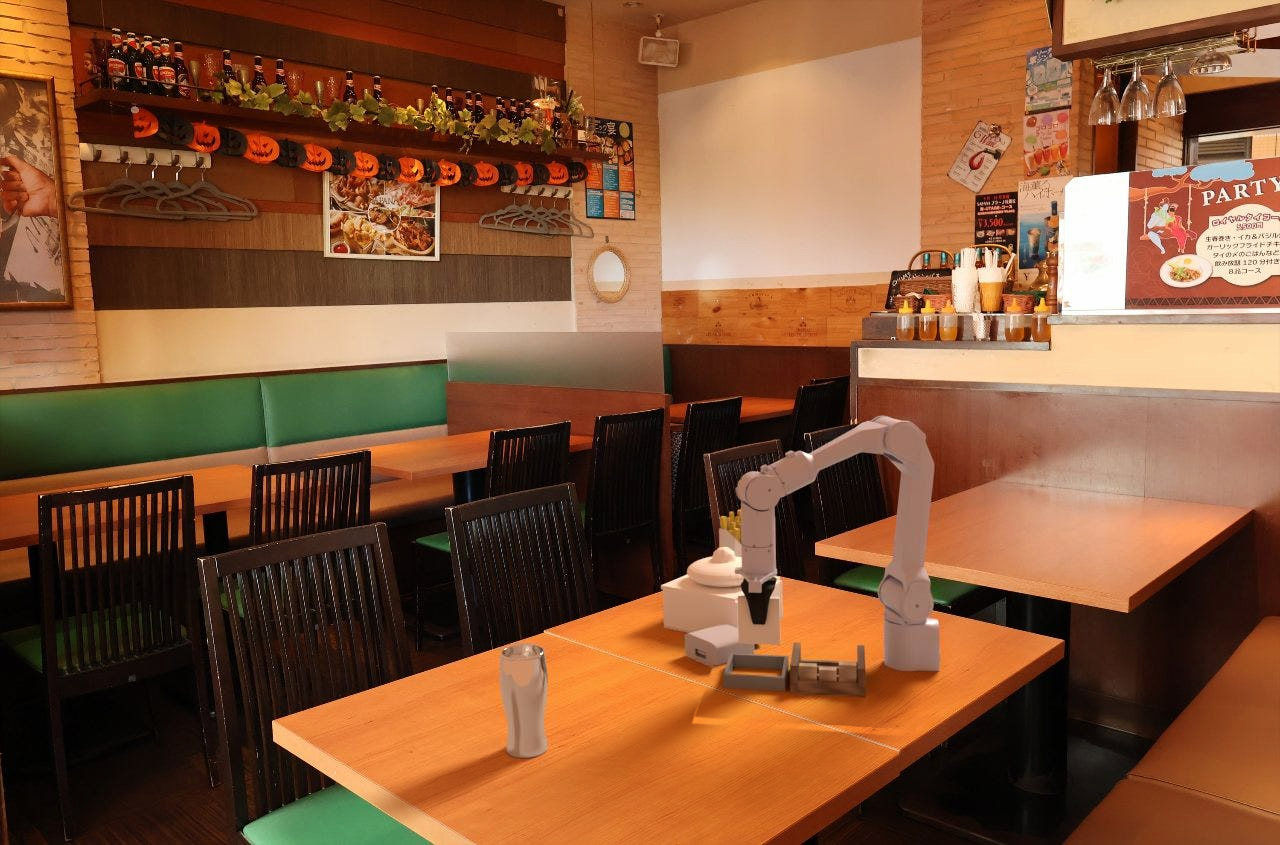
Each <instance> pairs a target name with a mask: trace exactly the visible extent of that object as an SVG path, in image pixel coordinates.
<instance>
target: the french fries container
mask: <svg viewBox="0 0 1280 845" xmlns="http://www.w3.org/2000/svg"><path fill="white" fill-rule="evenodd" d="M728 515H729V516H728V517H727V516H726V515H725V516H724V515H722V516H720V517H719V522H720V524H719V525H720V527H719V528H718V537H719V538H718V539H719V542H718V543H719V544H718V545H719V547H718V548H720V547H728V548H730V549H731V550H732V551H734V553H735V556H736V557H741V508H740V509H738V510H737V515H736V516H735V512H734V511H729V513H728ZM741 558H742V557H741Z"/></svg>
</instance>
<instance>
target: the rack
mask: <svg viewBox="0 0 1280 845" xmlns="http://www.w3.org/2000/svg"><path fill="white" fill-rule="evenodd" d="M865 649H866V648H865V645H863V644H862V645H860V644H858V645H856V650H857V654H856V656H857V660H856V661H855V662H856V666H857V682H839V662H850V661H847V660H844V661H843V660H827V659H826V660H824V659H823V660H822V659H818V660H817V659H802V643H801V642H793V645H792V651H791V658H790V662H789V678H790V679H789V683H790V684H789V688H790V689H789V690H790V694H792V695H793V694H794V695H797V694H798V695H813V696H833V697H834V696H836V697H853V698H854V697H855V698H866V695H867V694H866V692H867V691H866V689H867V688H866V687H867V686H866V683H867V681H866V680H867V679H866V677H867V676H866V675H867V674H866V655H865V654H866V652H865ZM799 663H817V680H799ZM819 667H837V681H819Z"/></svg>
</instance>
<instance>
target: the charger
mask: <svg viewBox="0 0 1280 845" xmlns="http://www.w3.org/2000/svg"><path fill="white" fill-rule="evenodd" d="M684 653H685V655H686V657H688V658H690V659H692V660H694V661H696V662H699V663H701V664H703V665H705V666H708V667H710V668H712V669H713V668H714V667H715V666H720V665H724V664H727V661H728V658H729V655H730V653H736V654H755V644H739V636H738V628H736V627H733V626H730V625H728V624H721V625H717V626H713V627H710V628H706V629H703V630H699V631H695V632H692V633H686V634H684Z"/></svg>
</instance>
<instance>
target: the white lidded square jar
mask: <svg viewBox="0 0 1280 845" xmlns="http://www.w3.org/2000/svg"><path fill="white" fill-rule="evenodd" d="M736 567H742V558H741V557H736V556H735V553H734V551H732V550H731V549H730V548H728V547H720V548H719V547H718V548H717V549H715V551H713V554H712V556H708V557H705V558H704V557H703V558H701V559H698V560H696V561H694V562H693V563H691V564H690V565H689V566H688V567H687V570H686V574H685V575H683V576H680V577H678V578H676V579H673V580H671V581H669V582H666V583H664V584H661V585H660V590H662V607H663V608H662V609H663V610H662V612H663V613H662V614H663V628H664V629H668V628H669V630H672V629H673V630H674V631H677V630H678V632H682V631H683V632H682V633H686V634H688V633H692V632H695V631H699V630H703V629H706V628H710V627H713V626H717V625H721V624H728V625H730V626H733V627H736V628H738V596H745V595H744V593H743V591H742V589H741V583H742V582H743V579H744V577H743V576H742V575H741V574H735V568H736ZM774 577H776V578H777V581H776V584H775V588H774V591H773V593H772V595H771V597H780V621H781V620H783V616H784V615H783V614H784V611H783V609H784V607H783V605H784V603H783V600H784V599H783V580H782V579H781V577H780V576H778V575H776V576H774ZM673 630H672V631H673Z"/></svg>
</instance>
